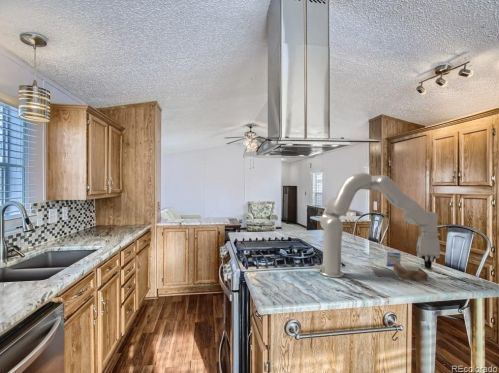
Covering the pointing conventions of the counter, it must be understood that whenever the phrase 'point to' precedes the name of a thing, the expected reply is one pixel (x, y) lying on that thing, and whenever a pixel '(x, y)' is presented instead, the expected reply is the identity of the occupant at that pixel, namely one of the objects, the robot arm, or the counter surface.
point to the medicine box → (392, 258)
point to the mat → (385, 273)
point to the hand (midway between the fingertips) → (427, 268)
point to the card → (409, 266)
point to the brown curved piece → (410, 273)
